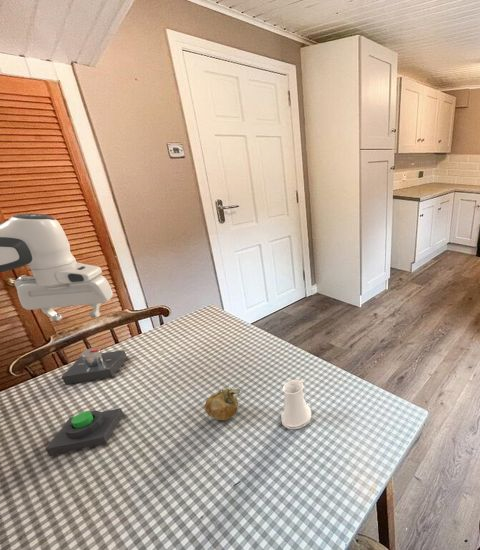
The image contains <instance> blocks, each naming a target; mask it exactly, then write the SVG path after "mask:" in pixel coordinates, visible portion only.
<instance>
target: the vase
mask: <svg viewBox="0 0 480 550" xmlns="http://www.w3.org/2000/svg"><path fill="white" fill-rule="evenodd" d="M282 391H283V394H284V401H285V402H284V403H285V404H284V409H283V410H282V412H281V416H280V420H281V425H282V426H284V427H285V428H286V429H288V430H298V429H301V428H304V427H305V426H307V425H308V424H309V423H310V421H311V419H312V409H311V407H310V406H309V405H307V403H306V401H305V398H304V383H303V381H301V380H299V379H291V380H288V381H287V382H286V383H284V385H283V386H282Z"/></svg>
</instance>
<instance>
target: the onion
mask: <svg viewBox="0 0 480 550" xmlns="http://www.w3.org/2000/svg"><path fill="white" fill-rule="evenodd" d="M241 390H242V388H241V387H238V388H233V387H225V388H224V389H221V390H219V391H217V392H216V393H213V394H212V395H210V396H209V397H208V398H207V400H206V401H205V404H204V411H205V414H206V415H207V416H208V417H210V418H211V419H213V420H217V421H227V420H230V419H231V418H232V417H234V415H235V414H236V413H237V411H238V408H239V399H238V398H237V396H236V395H237V394H239V395H240V394H241ZM235 394H236V395H235Z"/></svg>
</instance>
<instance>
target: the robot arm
mask: <svg viewBox="0 0 480 550" xmlns="http://www.w3.org/2000/svg"><path fill="white" fill-rule="evenodd" d="M25 266H28V267H29V269H30V270H31V273H32V275H27V276H26V275H25V276H24V275H23V276H19V277H18V278H17V279H15V281H14V282H13V284H14V287H15V288H16V292H17V296H18V300H19V303H20V305H21V307H22V308H23V309H25V310H27V311H31V310H33V311H34V310H41V313H43V314H45V315H46V316H48V317H49V318H50V320H51V322H53V323H54V322H60V321H61V320H63V316H62V313H61V312H56V311H55V308H65V307H77V306H87V305H89V306H90V308H92V310H91V311H90V312H88V314H89V316H90V318H91V319H94V318H99V317H100V316H101V312H100V308H101V304H106V303H108V302H109V301H110V300H111V299H112V298H113V296H114V293H113V290H112V288H111V285H110V282H109V281H108V279H107V277H105V276H104V275H102V273H103V270H102V267H100V266H98V265H91V264H86V263H82V262H77V260H76V257H75V256H74V255H73V254H72V252H71V244H70V242H69V239H68V237H67V235H66V233H65V231H64V229H63V227H62V225H61V224H60V222H59V221H58V220H57V219H56V218H55V217H53V216H50V215H48V214H43V213H18V214H14V215H12V216H11V217H10V218H9V219H8V220H6V221H5V222H0V274H1V273H5V272H9V271H13V270H16V269H19V268H22V267H25Z"/></svg>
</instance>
